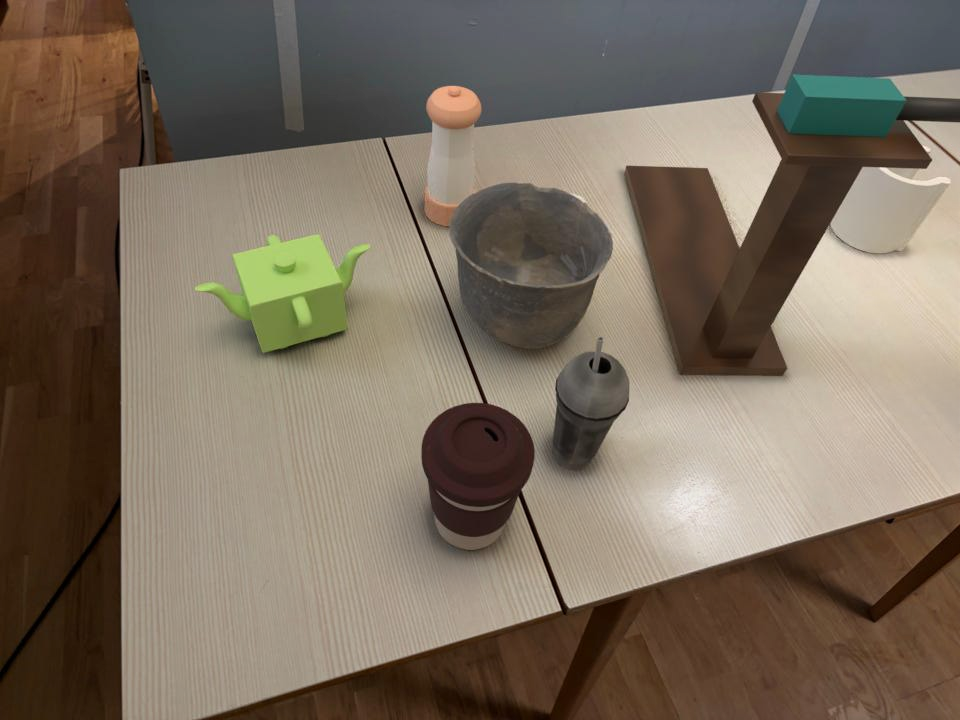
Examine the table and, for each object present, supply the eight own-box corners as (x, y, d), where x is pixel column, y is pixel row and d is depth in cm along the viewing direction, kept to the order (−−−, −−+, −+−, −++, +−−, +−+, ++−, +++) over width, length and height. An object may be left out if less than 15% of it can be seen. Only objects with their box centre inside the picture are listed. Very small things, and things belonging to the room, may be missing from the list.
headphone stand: (704, 175, 112) (785, -40, 87) (785, 382, 86) (933, 159, 61) (624, 173, 111) (682, -46, 86) (681, 381, 85) (788, 154, 60)
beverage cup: (619, 459, 78) (668, 341, 62) (569, 493, 75) (609, 378, 59) (574, 414, 81) (611, 291, 66) (526, 445, 78) (552, 324, 63)
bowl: (466, 388, 82) (473, 299, 71) (431, 283, 93) (433, 190, 81) (606, 363, 86) (636, 274, 75) (558, 264, 97) (578, 173, 85)
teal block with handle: (1002, 119, 67) (1027, 84, 64) (1022, 142, 64) (1049, 106, 61) (776, 111, 65) (792, 74, 62) (788, 133, 63) (805, 96, 60)
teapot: (375, 299, 90) (371, 236, 82) (332, 378, 82) (322, 316, 74) (265, 270, 92) (250, 205, 84) (212, 344, 84) (190, 280, 76)
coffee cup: (423, 568, 69) (424, 493, 57) (419, 477, 75) (418, 393, 63) (524, 561, 70) (545, 486, 58) (512, 472, 76) (528, 389, 64)
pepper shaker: (450, 188, 106) (455, 66, 91) (485, 212, 103) (496, 90, 88) (414, 208, 102) (413, 85, 87) (448, 234, 99) (454, 110, 84)
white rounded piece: (796, 149, 118) (828, 82, 109) (853, 153, 119) (890, 86, 109) (841, 251, 103) (884, 182, 93) (907, 255, 103) (956, 187, 94)
